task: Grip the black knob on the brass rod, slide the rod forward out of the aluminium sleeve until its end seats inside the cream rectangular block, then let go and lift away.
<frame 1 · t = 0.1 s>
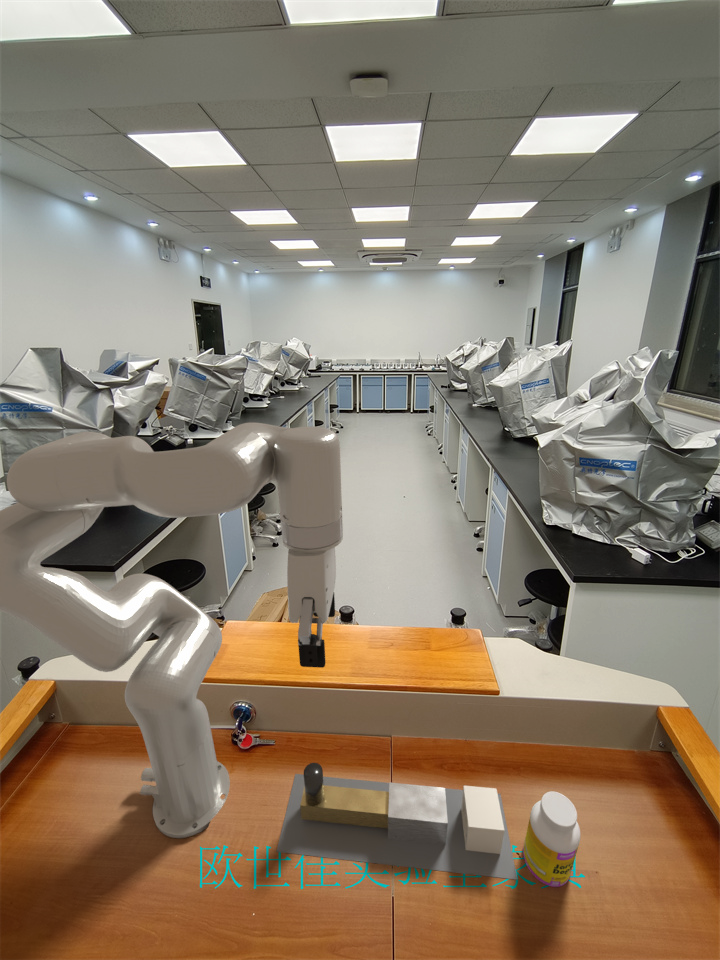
hand: (319, 638, 58), 37 cm above the table, tool pointing down, fingers open, 9 cm apart
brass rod: (370, 796, 67), point 7 cm above the table, slide at 0.0 cm
base board: (394, 825, 69), on the table
cream rectangular block: (479, 830, 68), resting on base board
sleeve: (416, 823, 69), resting on base board
supplement bottle: (545, 864, 64), on the table
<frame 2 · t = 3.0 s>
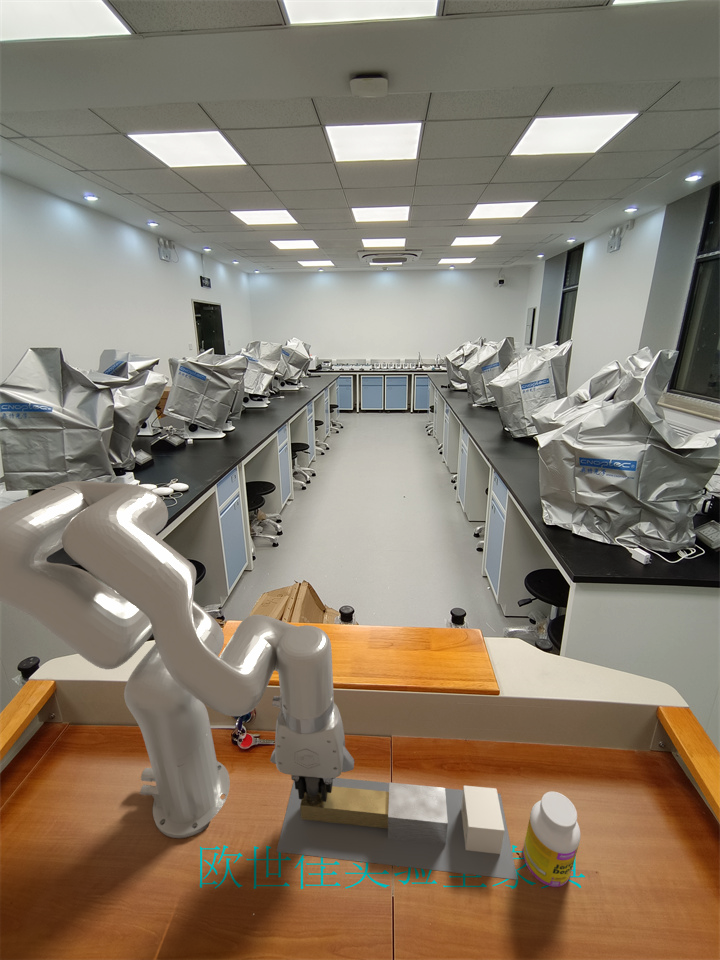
hand: (314, 790, 68), 7 cm above the table, tool pointing down, fingers closed on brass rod, 3 cm apart
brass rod: (370, 796, 67), point 7 cm above the table, slide at 0.0 cm, touching gripper
everything else where it was.
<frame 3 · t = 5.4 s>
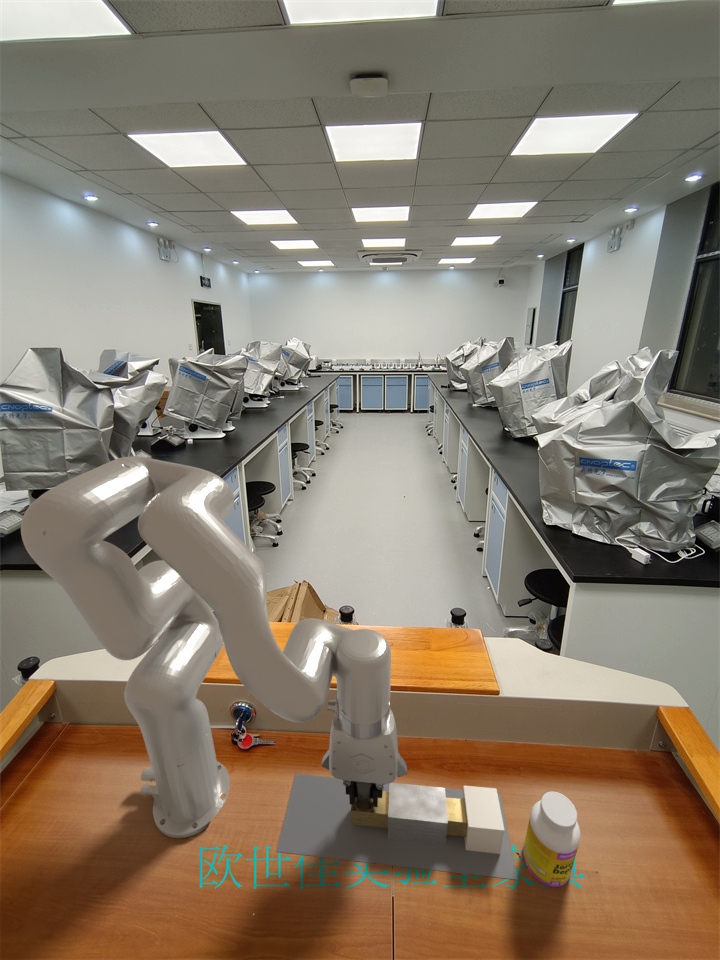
hand: (364, 795, 67), 7 cm above the table, tool pointing down, fingers closed on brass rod, 3 cm apart
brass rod: (421, 801, 67), point 7 cm above the table, slide at 8.1 cm, touching gripper
everything else where it was.
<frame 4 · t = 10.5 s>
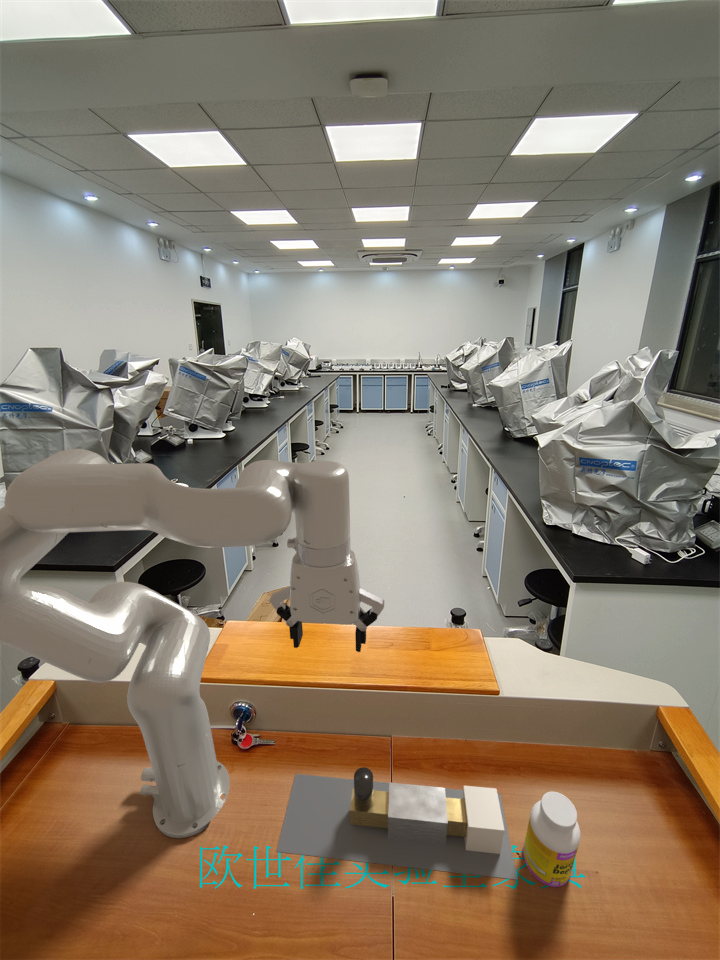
hand: (328, 643, 66), 30 cm above the table, tool pointing down, fingers open, 9 cm apart
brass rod: (420, 801, 67), point 7 cm above the table, slide at 8.0 cm
everything else where it was.
at the end: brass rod slide at 8.0 cm; the gripper is holding nothing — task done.
